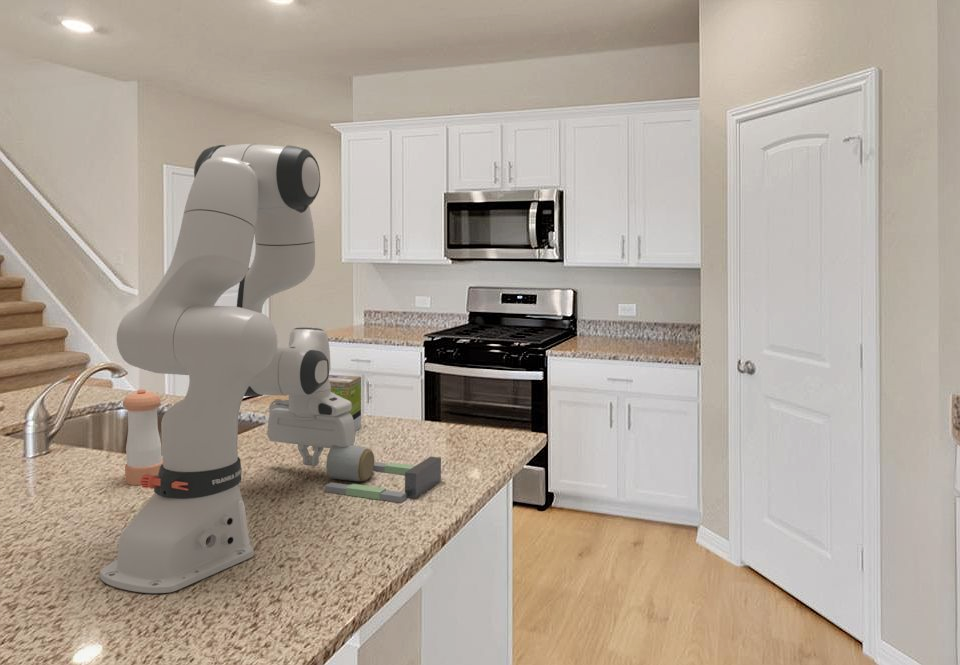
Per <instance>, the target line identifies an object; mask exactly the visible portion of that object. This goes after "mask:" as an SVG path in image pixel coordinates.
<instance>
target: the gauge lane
mask: <svg viewBox="0 0 960 665" xmlns="http://www.w3.org/2000/svg"><path fill="white" fill-rule="evenodd" d="M415 466H416V465H413V464H405V463H399V462H398V463H397V462H388V463H385V462H379V461H378V462H377V461H374V468H373V471H372V472H382V473H387V474H395V475H401V474H402V476H405V472H407V471H408V470H410V469H411V468H413V467H415ZM323 487H324V489H323V490H324V491H326V492H325V493H330V492H333V493H332V494H337V493H339V494H338V495H344V494H346V495H345V496H349V495H351V496H352V497H356V496H357V498H362V497H364V498H363V499H369V498H370V499H372V500H376V499H377V501H384V500H386V501H385V502H391V503H392V502H393V503H398V504H399V503H400V504H401V503H403V502H404V501H405V500H407V497H406V493H405V492H403V491H395V490H389V489H387V488H385V487H377V486H370V485H364V484H357V483H352V484H346V483H338V482H329V483H327V484H325V485H324V486H323ZM351 496H350V497H351ZM370 499H369V500H370Z"/></svg>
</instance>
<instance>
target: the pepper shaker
mask: <svg viewBox="0 0 960 665" xmlns="http://www.w3.org/2000/svg"><path fill="white" fill-rule="evenodd" d="M161 402H162V400H161V398H160V397H159V395H158V394H157V393H154V392H150V391H146V389H144V388H139V389H138V390H137V392H133V393H130V394H128V395H126V396H125V398H124V399H123V402H122V405H123V408H124V409H125V410H126V411H127V427H128V428H127V430H128V431H127V438H126V446H125V453H126V454H125V455H126V463H125V465H124V472H125V473H124V475H125V478H124V479H125V484H128V485H130V486H141V485H140V484H142V483H140V482H141V481H140V479H141V478H142V476H143V475H144V474H149V475H152V476H153V475H156V476H158V472H159V469H160V466H161V465H162V464H163V459H162V440H161V438H160V432H159V426H158V423H159V422H158V408H159V407H160V405H161Z"/></svg>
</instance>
